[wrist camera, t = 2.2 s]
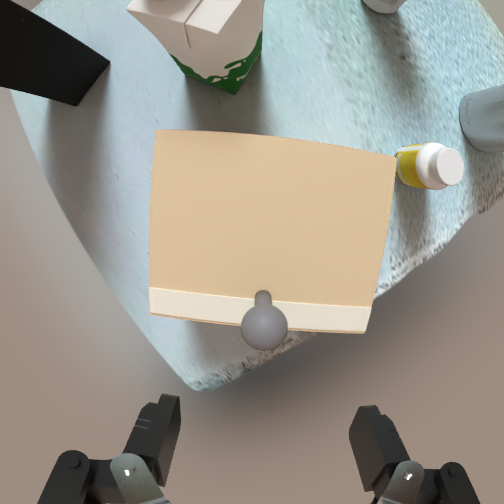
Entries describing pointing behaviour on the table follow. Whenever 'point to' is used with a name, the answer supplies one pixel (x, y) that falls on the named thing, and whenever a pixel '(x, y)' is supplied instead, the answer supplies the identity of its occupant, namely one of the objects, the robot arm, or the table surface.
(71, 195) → the table surface
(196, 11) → the milk carton
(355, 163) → the flap
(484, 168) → the table surface
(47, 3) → the table surface
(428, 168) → the supplement bottle
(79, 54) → the tall black box
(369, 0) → the energy drink can
